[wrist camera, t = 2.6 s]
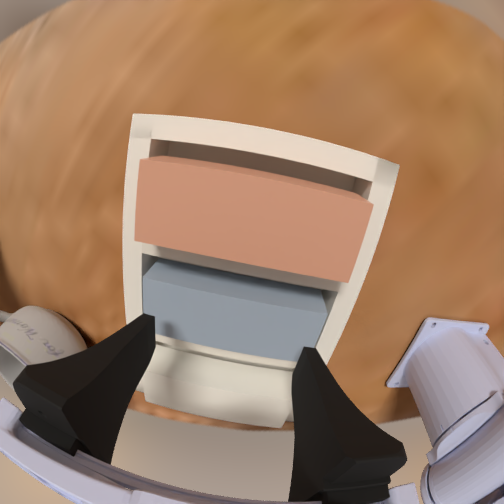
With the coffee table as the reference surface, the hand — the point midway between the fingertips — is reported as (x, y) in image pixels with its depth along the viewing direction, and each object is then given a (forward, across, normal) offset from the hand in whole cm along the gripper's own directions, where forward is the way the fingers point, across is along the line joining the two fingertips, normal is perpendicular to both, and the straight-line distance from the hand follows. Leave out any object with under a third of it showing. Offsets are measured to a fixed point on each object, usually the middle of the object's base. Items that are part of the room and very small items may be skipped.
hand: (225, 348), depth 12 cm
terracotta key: (+3, 0, -6) cm, 7 cm away
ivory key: (+3, 0, +6) cm, 7 cm away
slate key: (+4, 0, 0) cm, 4 cm away
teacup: (+6, +18, +10) cm, 22 cm away
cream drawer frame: (+6, 0, 0) cm, 6 cm away
